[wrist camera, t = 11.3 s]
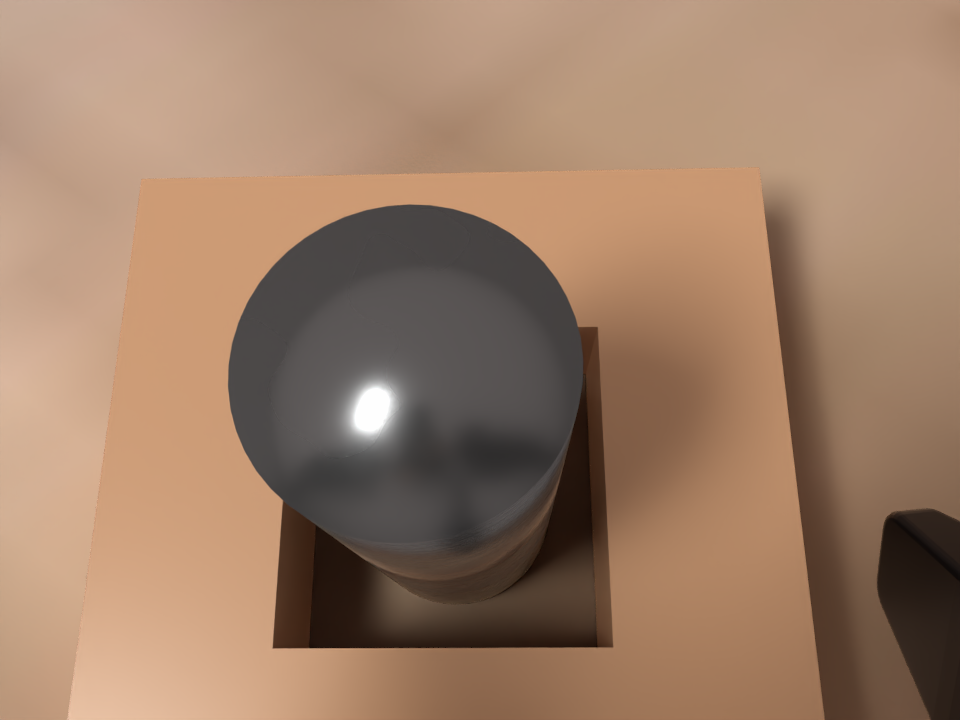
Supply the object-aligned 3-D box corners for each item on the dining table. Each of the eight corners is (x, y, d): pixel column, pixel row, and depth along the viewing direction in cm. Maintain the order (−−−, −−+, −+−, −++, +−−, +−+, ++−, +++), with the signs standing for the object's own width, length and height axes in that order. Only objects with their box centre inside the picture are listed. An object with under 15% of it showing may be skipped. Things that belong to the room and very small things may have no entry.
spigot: (551, 603, 19) (591, 541, 9) (361, 604, 19) (211, 544, 9) (546, 420, 20) (576, 200, 11) (369, 421, 20) (244, 207, 11)
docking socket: (788, 841, 17) (843, 875, 14) (121, 839, 18) (46, 871, 15) (726, 233, 21) (759, 167, 19) (189, 242, 22) (141, 178, 19)
